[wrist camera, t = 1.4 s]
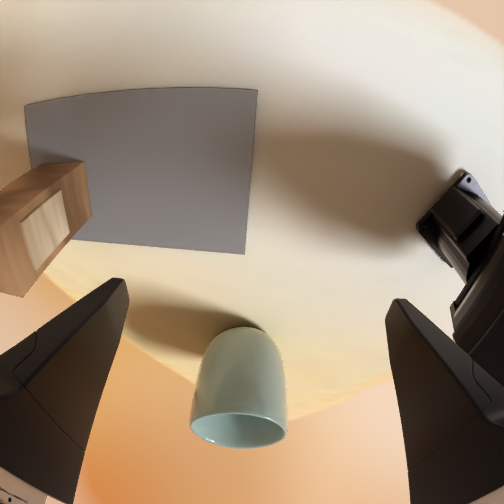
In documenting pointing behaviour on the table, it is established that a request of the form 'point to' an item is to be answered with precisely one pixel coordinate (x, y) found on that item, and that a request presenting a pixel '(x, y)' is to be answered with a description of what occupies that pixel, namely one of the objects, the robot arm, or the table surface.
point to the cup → (241, 391)
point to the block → (39, 221)
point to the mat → (155, 163)
